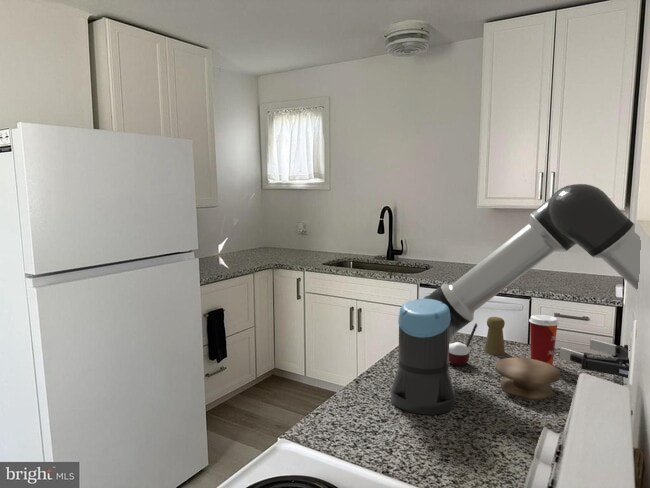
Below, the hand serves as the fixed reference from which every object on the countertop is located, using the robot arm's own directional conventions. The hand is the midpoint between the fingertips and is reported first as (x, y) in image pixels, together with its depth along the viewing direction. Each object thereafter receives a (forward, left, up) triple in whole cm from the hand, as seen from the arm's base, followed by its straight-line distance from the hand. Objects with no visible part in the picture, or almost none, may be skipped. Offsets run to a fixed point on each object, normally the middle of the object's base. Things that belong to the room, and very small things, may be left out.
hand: (576, 347), depth 123 cm
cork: (-19, +15, -8) cm, 25 cm away
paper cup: (-7, +7, -8) cm, 13 cm away
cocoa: (-30, +2, -8) cm, 31 cm away
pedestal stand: (-14, -12, -8) cm, 20 cm away
